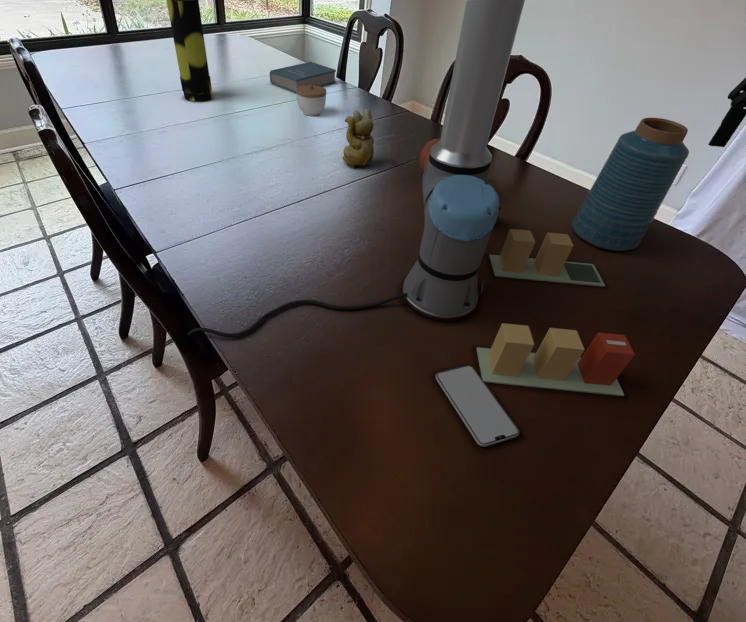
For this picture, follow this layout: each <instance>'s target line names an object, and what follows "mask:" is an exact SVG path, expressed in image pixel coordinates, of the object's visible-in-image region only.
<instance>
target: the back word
mask: <svg viewBox="0 0 746 622" xmlns="http://www.w3.org/2000/svg"><path fill="white" fill-rule="evenodd" d="M535 244H536V240H535V238H534V235H533V233H532V231H531V230H527V229H517V228H516V229H515V228H510V229H509V230H508V233H507V235H506V238H505V241H504V244H503V247H502V249H501V251H500V254H489V260H490V264H491V267H492V271H493V275H494V277H496V278H505V279H506V278H508V279H518V280H527V281H537V282H538V281H539V282H549V283H559V284H560V283H561V284H569V285H571V284H572V285H581V286H591V287H601V288H602V287H603V288H604V287H606V284H605V283H604V281H603V279H602V277H601V275H600V273H599V271H598V270H597V268H596V265H595V264H594V263H587V262H576V261H567V260H568V258H569V256H570V254H571V253H572V250H573V248H574V246H575V245H574V243H573V242H572V240H571V237H570V236H569V234H568V233H559V232H558V233H557V232H546V234H545V236H544V238H543V241H542V243H541V245H540V247H539V250H538V252H537V254H536V257H535V258H533V257H530V255H531V254H532V251H533V249H534V246H535Z"/></svg>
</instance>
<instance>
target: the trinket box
mask: <svg viewBox="0 0 746 622" xmlns="http://www.w3.org/2000/svg"><path fill="white" fill-rule="evenodd" d="M296 92H297V94H296V101H297V102H296V103H297V105H298V107H299V110H300V111H301V112H302V113H303V114H304V115H305V116H310V117H315V116H320V114H321V112H322V111H323V110H324V109H325V106H326V101H327V89H326V88H325V87H324V86H323V87H320V86H316V85H313V84H310V85H304V86H300V87H298V88H297V89H296Z"/></svg>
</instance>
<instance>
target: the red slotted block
mask: <svg viewBox="0 0 746 622" xmlns="http://www.w3.org/2000/svg"><path fill="white" fill-rule="evenodd" d="M635 356H636V353H635V352H634V350H633V347H632V346H631V344H630V342H629V340H628V338H627V336H626V335H625V334H617V333H608V332H597V333H596V334H595V336H594V338H593V339H592V341H591V342H590V344H589V345H588V347H587V348H586V349H585V350H584V352H583V353H582V355H581V356H580V357H581V359H580V360H579V362H578V363H577V365H578V367H579V370H580V373H581V375H582V378H583V380H584V383H589V384H599V385H609V386H611V385H612V383H613V382H614V381H615V379H616V378H617V379H618V377H619V376H620V374H621V373H622V372H624V371H623V370H625V368H626V367H627V365H629V364H630V362H631V361H632V359H633V358H634V357H635Z"/></svg>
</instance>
